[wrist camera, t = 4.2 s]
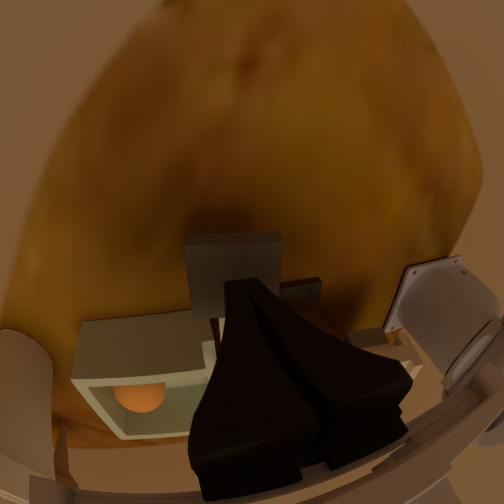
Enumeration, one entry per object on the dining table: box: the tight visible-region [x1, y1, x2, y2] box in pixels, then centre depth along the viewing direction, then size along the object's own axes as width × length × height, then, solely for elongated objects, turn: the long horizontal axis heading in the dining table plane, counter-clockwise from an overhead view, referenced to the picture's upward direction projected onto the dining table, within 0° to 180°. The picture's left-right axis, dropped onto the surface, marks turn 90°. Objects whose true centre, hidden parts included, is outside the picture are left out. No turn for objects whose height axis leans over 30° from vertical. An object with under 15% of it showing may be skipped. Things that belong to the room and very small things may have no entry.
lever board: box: [184, 232, 423, 379], centre depth 16 cm, size 14×15×5 cm
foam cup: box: [0, 329, 56, 504], centre depth 11 cm, size 10×9×13 cm
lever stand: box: [278, 277, 337, 338], centre depth 20 cm, size 4×11×6 cm, turn 179°
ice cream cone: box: [53, 421, 79, 489], centre depth 16 cm, size 6×6×15 cm
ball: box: [112, 382, 166, 413], centre depth 17 cm, size 4×4×4 cm
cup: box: [70, 310, 217, 439], centre depth 18 cm, size 9×9×5 cm
